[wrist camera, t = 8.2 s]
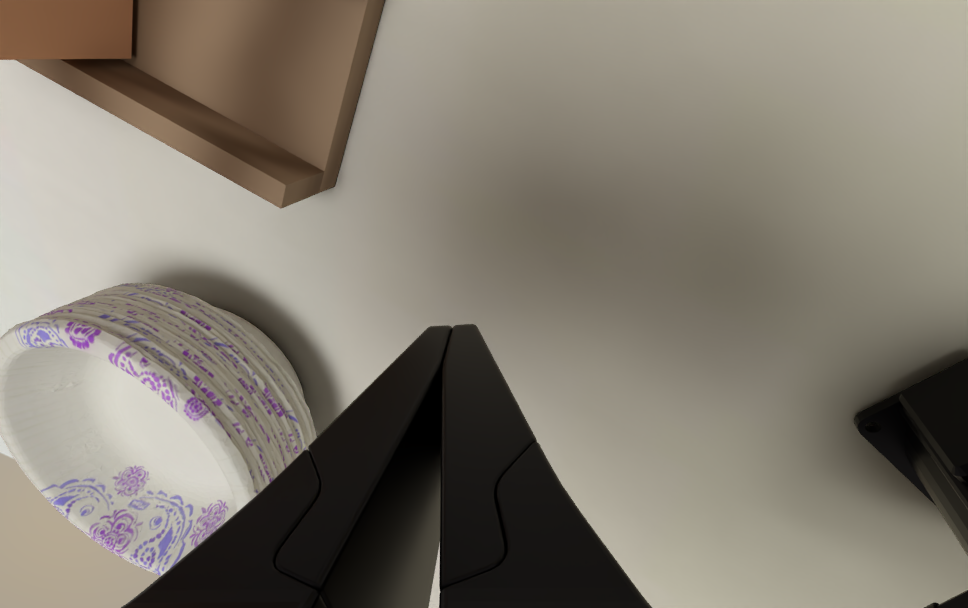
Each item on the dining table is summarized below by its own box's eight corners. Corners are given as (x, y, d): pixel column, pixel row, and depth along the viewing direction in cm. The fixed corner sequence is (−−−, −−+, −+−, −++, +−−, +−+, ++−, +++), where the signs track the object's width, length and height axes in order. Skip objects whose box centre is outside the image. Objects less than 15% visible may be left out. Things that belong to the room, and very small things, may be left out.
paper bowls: (306, 253, 24) (170, 331, 17) (376, 489, 30) (295, 615, 24) (88, 261, 29) (-85, 324, 22) (187, 462, 35) (75, 560, 28)
